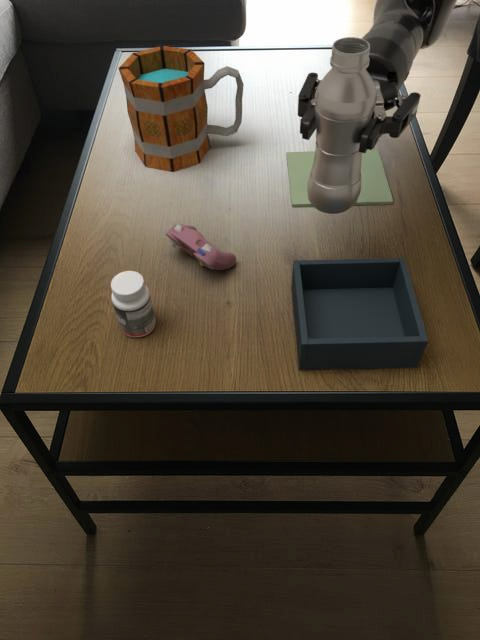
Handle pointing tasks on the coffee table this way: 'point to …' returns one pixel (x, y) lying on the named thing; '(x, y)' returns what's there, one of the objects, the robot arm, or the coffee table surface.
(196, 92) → the mug
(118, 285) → the pill bottle
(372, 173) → the mat
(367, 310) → the bin
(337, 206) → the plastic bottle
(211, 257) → the pink curved plastic piece
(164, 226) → the coffee table surface
